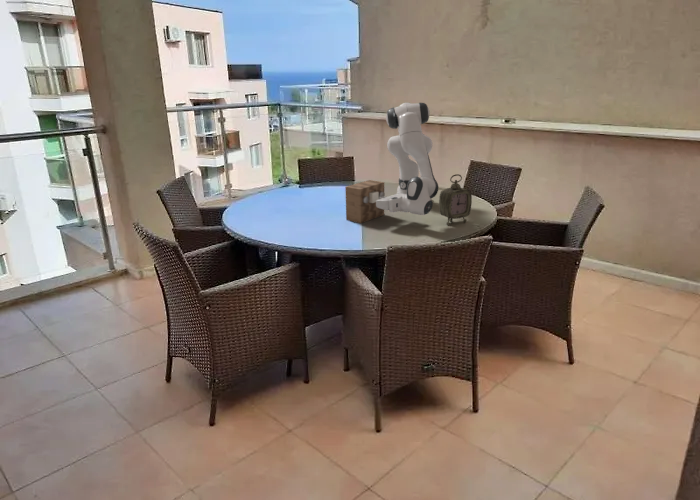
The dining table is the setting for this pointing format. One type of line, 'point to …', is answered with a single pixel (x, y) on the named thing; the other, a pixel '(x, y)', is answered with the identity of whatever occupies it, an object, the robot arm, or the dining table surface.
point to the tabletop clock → (455, 201)
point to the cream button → (373, 196)
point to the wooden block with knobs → (363, 201)
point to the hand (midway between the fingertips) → (380, 198)
